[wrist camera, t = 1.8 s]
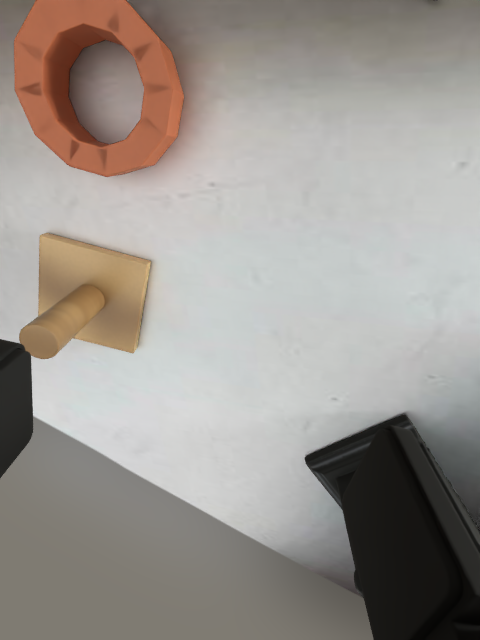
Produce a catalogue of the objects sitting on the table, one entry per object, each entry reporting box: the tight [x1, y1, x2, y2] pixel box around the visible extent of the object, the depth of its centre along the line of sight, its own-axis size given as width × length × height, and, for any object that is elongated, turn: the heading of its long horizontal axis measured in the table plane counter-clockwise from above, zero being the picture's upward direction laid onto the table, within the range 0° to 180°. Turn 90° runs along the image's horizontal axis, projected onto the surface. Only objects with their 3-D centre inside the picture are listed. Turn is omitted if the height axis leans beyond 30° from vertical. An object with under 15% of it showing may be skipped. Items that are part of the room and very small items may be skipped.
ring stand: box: [19, 233, 151, 359], centre depth 25 cm, size 8×8×8 cm
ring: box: [14, 0, 184, 177], centre depth 21 cm, size 9×9×3 cm
